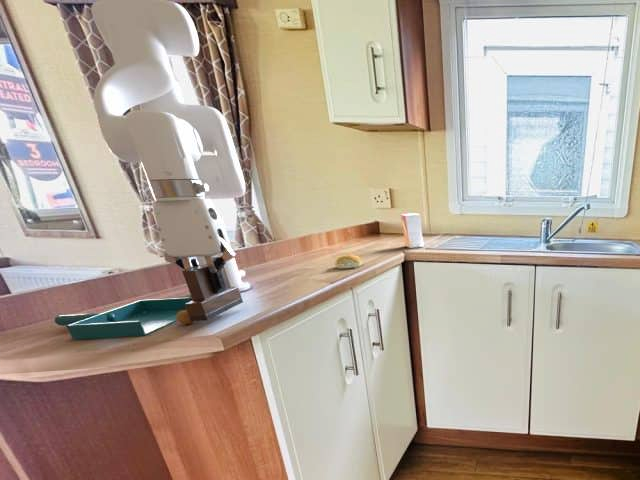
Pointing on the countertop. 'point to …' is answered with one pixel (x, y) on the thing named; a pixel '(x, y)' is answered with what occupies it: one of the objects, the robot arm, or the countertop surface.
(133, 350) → the countertop surface
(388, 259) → the countertop surface
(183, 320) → the crumb
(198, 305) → the stepped wooden block
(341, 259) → the bread roll
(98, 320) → the dustpan
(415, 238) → the small box
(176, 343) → the countertop surface
